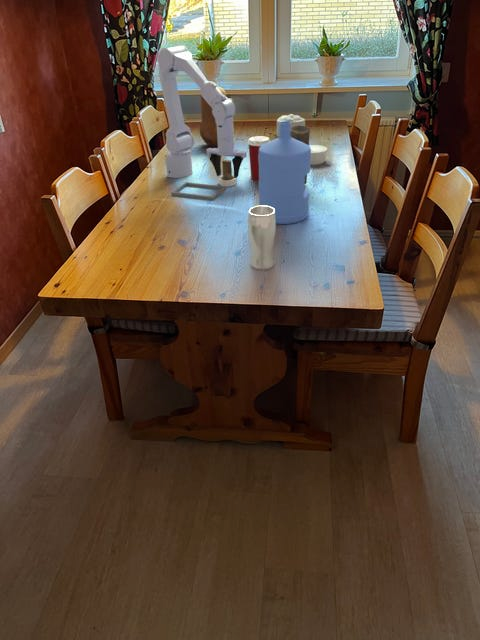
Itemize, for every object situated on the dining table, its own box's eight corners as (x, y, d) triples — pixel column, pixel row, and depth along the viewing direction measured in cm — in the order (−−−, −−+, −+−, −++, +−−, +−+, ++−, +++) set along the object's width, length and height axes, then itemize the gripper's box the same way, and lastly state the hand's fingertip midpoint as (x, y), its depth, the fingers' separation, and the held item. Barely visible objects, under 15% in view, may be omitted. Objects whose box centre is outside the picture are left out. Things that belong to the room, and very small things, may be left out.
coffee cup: (268, 184, 181) (268, 142, 172) (246, 183, 183) (245, 141, 174) (272, 176, 188) (272, 135, 179) (250, 175, 189) (249, 135, 181)
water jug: (275, 229, 148) (275, 132, 132) (250, 212, 160) (248, 121, 144) (318, 218, 154) (323, 124, 138) (291, 202, 166) (293, 113, 150)
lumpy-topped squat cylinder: (278, 132, 241) (278, 113, 237) (305, 132, 239) (306, 113, 234) (275, 137, 233) (276, 118, 228) (303, 138, 231) (304, 118, 226)
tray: (171, 197, 173) (171, 192, 172) (186, 186, 181) (185, 182, 180) (213, 202, 168) (213, 197, 167) (226, 191, 176) (226, 186, 175)
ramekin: (295, 164, 199) (295, 151, 196) (303, 156, 207) (303, 143, 204) (322, 167, 195) (323, 153, 192) (329, 159, 204) (330, 145, 201)
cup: (216, 187, 180) (215, 179, 178) (223, 181, 185) (223, 174, 183) (232, 189, 178) (232, 181, 176) (239, 183, 183) (239, 175, 181)
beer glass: (247, 259, 133) (246, 206, 125) (273, 257, 133) (273, 204, 125) (250, 271, 127) (249, 216, 119) (277, 269, 128) (277, 215, 119)
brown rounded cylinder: (309, 183, 180) (311, 125, 169) (304, 190, 175) (307, 131, 163) (288, 181, 183) (290, 124, 171) (283, 188, 177) (284, 130, 166)
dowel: (222, 184, 180) (220, 162, 176) (225, 181, 183) (224, 159, 178) (230, 185, 179) (229, 162, 175) (233, 182, 182) (232, 160, 177)
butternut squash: (236, 144, 226) (234, 84, 212) (220, 151, 217) (216, 89, 203) (211, 140, 232) (208, 82, 218) (194, 148, 223) (189, 87, 209)
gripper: (201, 139, 171) (204, 177, 179) (240, 142, 166) (241, 181, 174) (210, 133, 176) (212, 171, 184) (248, 136, 172) (249, 175, 179)
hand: (227, 176), depth 179 cm, fingers open, 6 cm apart
